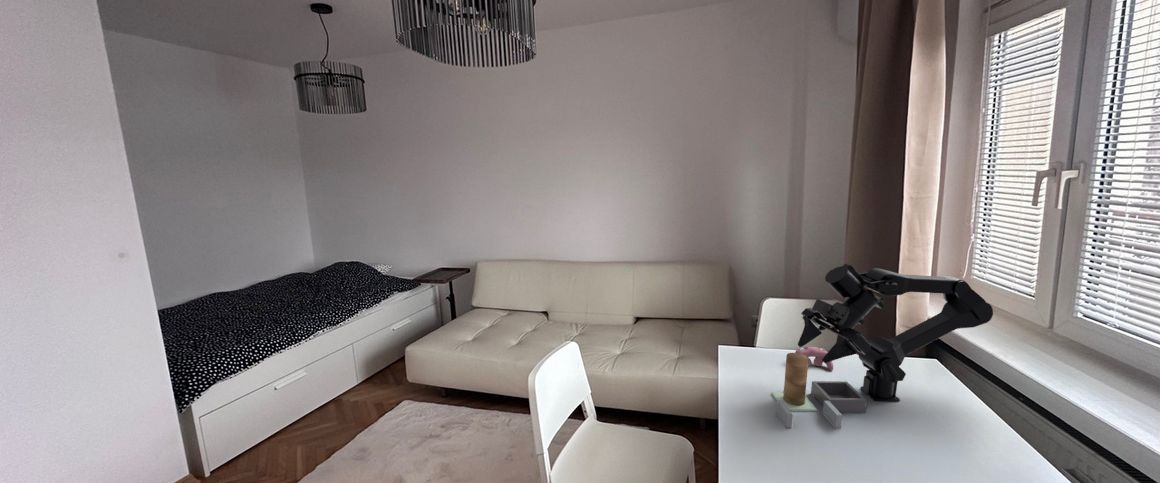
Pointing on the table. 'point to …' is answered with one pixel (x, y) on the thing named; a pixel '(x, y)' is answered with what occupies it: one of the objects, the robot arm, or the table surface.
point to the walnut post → (795, 379)
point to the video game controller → (816, 353)
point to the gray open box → (839, 396)
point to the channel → (828, 412)
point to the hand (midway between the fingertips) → (810, 353)
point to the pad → (806, 407)
